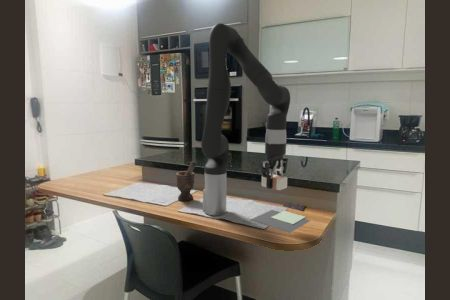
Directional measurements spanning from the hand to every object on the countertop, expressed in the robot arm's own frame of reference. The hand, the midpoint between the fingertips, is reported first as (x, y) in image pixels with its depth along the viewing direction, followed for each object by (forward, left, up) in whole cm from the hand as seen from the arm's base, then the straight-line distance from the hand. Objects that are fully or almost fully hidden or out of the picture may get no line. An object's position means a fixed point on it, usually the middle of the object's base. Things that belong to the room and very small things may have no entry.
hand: (274, 186), depth 112 cm
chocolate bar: (-3, +19, -16) cm, 25 cm away
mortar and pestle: (-47, -2, -15) cm, 49 cm away
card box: (0, 0, 0) cm, 0 cm away
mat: (0, +5, -15) cm, 16 cm away
